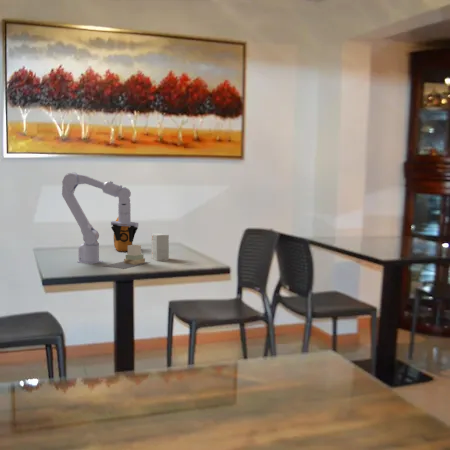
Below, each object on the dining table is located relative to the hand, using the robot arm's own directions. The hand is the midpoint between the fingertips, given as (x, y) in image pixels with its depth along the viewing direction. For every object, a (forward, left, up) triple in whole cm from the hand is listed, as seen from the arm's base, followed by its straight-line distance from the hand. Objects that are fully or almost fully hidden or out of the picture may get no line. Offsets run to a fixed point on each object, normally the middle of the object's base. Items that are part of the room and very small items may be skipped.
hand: (124, 241), depth 281 cm
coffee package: (-26, +30, -11) cm, 41 cm away
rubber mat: (+6, -5, -10) cm, 13 cm away
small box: (+10, +15, -11) cm, 21 cm away
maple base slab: (+6, 0, -10) cm, 12 cm away
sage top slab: (+6, 0, -8) cm, 10 cm away
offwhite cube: (+6, 0, -6) cm, 9 cm away
